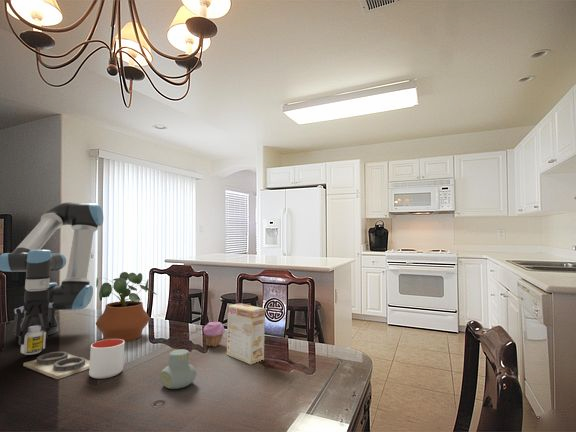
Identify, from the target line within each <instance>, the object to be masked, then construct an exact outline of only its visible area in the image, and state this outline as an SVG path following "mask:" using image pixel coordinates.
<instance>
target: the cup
mask: <svg viewBox="0 0 576 432" xmlns="http://www.w3.org/2000/svg"><path fill="white" fill-rule="evenodd" d="M125 343H126V342H125V341H124V340H121V339H107V340H103V339H101V340H98V341H95V342H93V343H92V344H91V345H90V351H89V353H90V354H89V360H90V365H89V369H88V375H89V377H91V378H93V379H99V380H101V379H107V378H112V377H114V376H117V375H119V374H120V373H121V372H122V371H123V370H124V359H125Z"/></svg>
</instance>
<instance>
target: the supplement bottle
mask: <svg viewBox="0 0 576 432" xmlns="http://www.w3.org/2000/svg"><path fill="white" fill-rule="evenodd" d="M40 330H41V326H39V325H37V326H30V327H28V333H27V334H26V335H27V336H28V338H27V352H26V354H24V355H26V356H28V355H29V356H31V355H36V354H39V353H40V352H42V350H43V349H42V338H43V332H41V331H40Z"/></svg>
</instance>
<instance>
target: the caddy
mask: <svg viewBox="0 0 576 432" xmlns="http://www.w3.org/2000/svg"><path fill="white" fill-rule="evenodd" d="M89 365H90V359H86V358H85V357H83V356H77V355H74V354H71V353H69V352H67V351H51V352H47V353H43V354H40V355H39V356H37V357H36V359H33V360H30V361H26V362H23V365H22V366H23V367H24V368H25V367H26V368H27V369H30V370H32V371H35V372H37V373H40V374H42V375H45V376H47V377H50V378H53V379H54V380H60V379H62V378H66V377H69V376H72V375H74V374H77V373H81V372H83V371H86V370H89Z"/></svg>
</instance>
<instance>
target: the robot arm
mask: <svg viewBox="0 0 576 432" xmlns="http://www.w3.org/2000/svg"><path fill="white" fill-rule="evenodd" d="M103 224H104V211H103V209H102V207H101V205H100V204H98V203H92V202H89V203H88V202H71V201H70V202H62V203H59V204H56V205H55V206H53V207H50V208H49V209H48V210H46V211H45V212H44V213H43V214H42V215H41V217H40V221H39V222H38V223H37V224H36V226H34V228H33V229H32V230H31V231H30V232H29V233H28V234H27V235H26V236H25V238H24V239H23V240H22V241H21V242H20V243H19V244H18V245H17V247H16V248H15V249H14V250H13V251H12V252H5V253H1V254H0V271H1V272H11V273H13V272H21V273H22V272H25V274H26V275H25V284H24V290H25V291H24V295H23V304H22V305H21V306H19V307H17V308H16V307H15V308H13V313H14V317H13V327H12V328H13V329H12V335H14V336H16V337H18V342H17V344H18V345H19V346H20V354H24V355H25V354H26V352H27V338H28V336H27V335H26V334H27V333H28V327H30V326H37V325H39V326H41V330H40V331H41V332H43V338H42V350H45V349H46V340H48V339H49V336H51V335H54V334H56V333H57V332H59V323H58V321H57V318H56V311H77V310H78V311H80V310H85V309H86V308H87V307H88V306H89V304H90V303H91V301H92V298H93V294H94V287H93V286H92V285H91V284H90V283H91V282H90V280H89V279H88V273H89V267H90V265H89V264H90V261H91V260H90V259H91V252H92V247H93V246H92V245H93V238H94V235H95V234H94V233H95V232H96V231H98V229H99V227H100V226H102V225H103ZM67 225H69V226H71V229H72V230H73V231H74V232H73V234H72V241H71V247H70V254H69V260H68V265H67V258H66V256H65V255H64V254H62V253H60V252H59V253H58V252H52V251H51V250H50V249H43V247H44V246H45V245H46V243H47V242H48V241H49V239H51V237H52V236H53V234H54V233H56V231H57V230H59V229H61V228H62V227H63V226H67ZM66 265H67V270H66V271H67V272H66V276H65V278H64V279H63V280H62V281H61V284H60V285H58V283H57V282H54V281H53V282H50V281H51V272H57V271H60V270H62V269H64V267H65V266H66ZM22 313H24V314H22ZM22 315H24V316H23V317H22ZM22 318H23V320H22Z"/></svg>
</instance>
